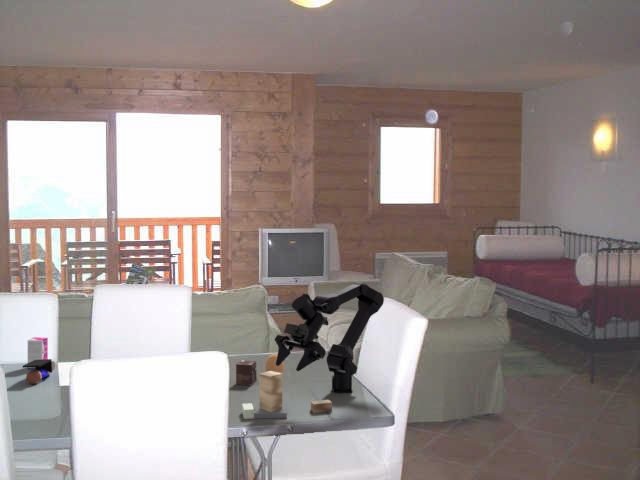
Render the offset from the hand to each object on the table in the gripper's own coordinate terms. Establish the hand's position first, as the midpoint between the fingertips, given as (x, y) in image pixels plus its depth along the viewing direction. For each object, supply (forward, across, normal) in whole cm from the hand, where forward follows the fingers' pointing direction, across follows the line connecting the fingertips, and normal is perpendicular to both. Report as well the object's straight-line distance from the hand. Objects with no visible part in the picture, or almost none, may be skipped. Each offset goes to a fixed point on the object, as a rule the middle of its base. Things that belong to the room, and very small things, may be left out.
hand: (286, 367), depth 222 cm
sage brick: (+19, -3, 0) cm, 19 cm away
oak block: (+13, 0, +3) cm, 13 cm away
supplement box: (+32, -105, -14) cm, 110 cm away
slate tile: (+14, 0, +4) cm, 15 cm away
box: (+2, -31, +16) cm, 35 cm away
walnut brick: (+6, +10, +13) cm, 17 cm away
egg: (-6, -28, +24) cm, 38 cm away
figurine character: (+37, -88, -19) cm, 98 cm away
